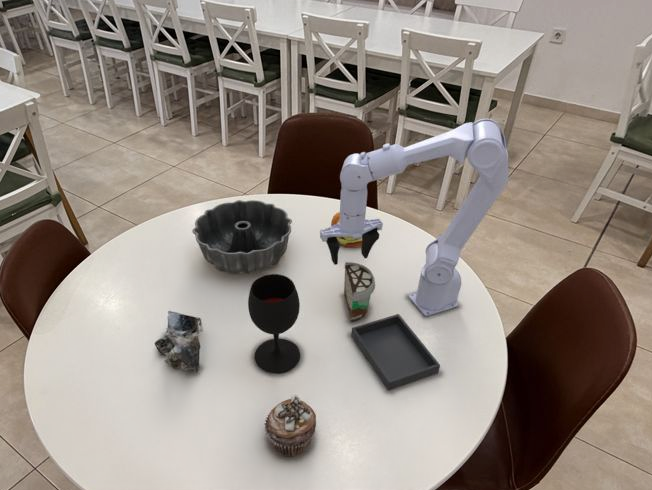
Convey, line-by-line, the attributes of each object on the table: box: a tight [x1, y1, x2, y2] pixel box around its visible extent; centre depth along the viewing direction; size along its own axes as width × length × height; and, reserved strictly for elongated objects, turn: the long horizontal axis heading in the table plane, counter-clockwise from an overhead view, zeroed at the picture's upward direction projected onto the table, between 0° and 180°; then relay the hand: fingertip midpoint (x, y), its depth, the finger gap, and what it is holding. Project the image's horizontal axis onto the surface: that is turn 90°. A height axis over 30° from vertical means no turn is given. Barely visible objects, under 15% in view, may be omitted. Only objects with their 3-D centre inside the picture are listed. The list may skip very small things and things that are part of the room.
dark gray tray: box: [350, 313, 441, 392], centre depth 110 cm, size 12×17×3 cm
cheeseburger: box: [330, 211, 362, 248], centre depth 140 cm, size 10×11×10 cm
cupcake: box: [263, 394, 317, 458], centre depth 92 cm, size 10×10×10 cm
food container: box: [343, 261, 376, 323], centre depth 118 cm, size 12×6×10 cm, turn 5°
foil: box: [154, 310, 204, 373], centre depth 111 cm, size 12×11×15 cm
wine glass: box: [247, 273, 301, 375], centre depth 104 cm, size 10×10×20 cm
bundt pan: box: [192, 199, 293, 276], centre depth 135 cm, size 26×26×10 cm
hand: (349, 259), depth 119 cm, fingers open, 7 cm apart
